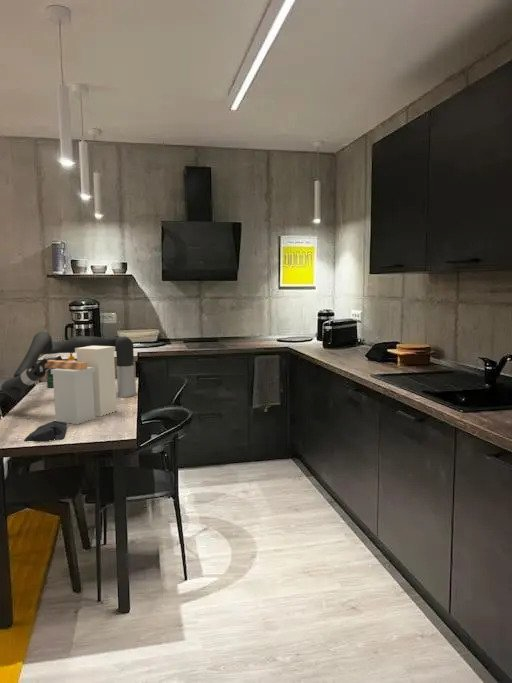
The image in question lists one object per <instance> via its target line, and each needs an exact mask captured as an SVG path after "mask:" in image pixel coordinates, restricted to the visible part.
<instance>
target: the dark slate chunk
mask: <svg viewBox="0 0 512 683" xmlns="http://www.w3.org/2000/svg"><path fill="white" fill-rule="evenodd" d="M67 426H68V423H66V422H58V421H56V420H53V421H50V422H47V423H46V424H45V423H44V424H42V425H40V426H38V427H36V429H35V430H34V431H32V432H31V433H29V434H28V435H27V436H26V438H24V440H23V442H25V441H26V442H27V441H44V442H50V441H49V440H53V441H57V439H61V440H64V438H65V435H66V432H67ZM54 439H55V440H54Z"/></svg>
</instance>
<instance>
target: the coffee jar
mask: <svg viewBox="0 0 512 683" xmlns="http://www.w3.org/2000/svg"><path fill="white" fill-rule="evenodd" d="M57 357H58V356H55V357H53V356H52V357H47V358H46V359H47V361H48V360H54V359H55V358H57ZM61 361H63V359H62V360H61ZM53 369H57V368H53ZM51 370H52V369H51V368H50V369H49V370H47V380H46V387H47V388H50V389H51V388H52V389H54V385H53V374H51Z"/></svg>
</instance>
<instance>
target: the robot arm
mask: <svg viewBox="0 0 512 683" xmlns="http://www.w3.org/2000/svg"><path fill="white" fill-rule="evenodd" d="M87 346H115V351H114V352H116V354H115V355H116V356H115V357H116V361H115V362H116V377H117V378H116V379H117V380H116V382H117V397H119V398H129V397H134V396H137V387H136V386H137V380H136V378H135V373H134V372H135V371H134V370H135V367H134V363H135V362H134V361H135V359H134V356H135V355H134V353H135V352H134V342H133V340H131V339H130V338H129V337H128V336H116V337H101V336H91V335H89V336H87V335H78V336H74V337H71V338H69V339H66V340H62V341H53V340H52V336H51V334H50V333H49V332H46V331H39V332H37V333H36V334H34V336H33V338H32V341H31V343H30V346H29V348H28V351H26V352H27V353H26V354H25V356H24V358H23V359H22V361H21V363H20V364H19V366H18V367H17V369H16V371H15V372H14V373H13V377H11V378H9V379H6V380H5V381H4V382H3V383H2V384H1V387H0V388H1V389H0V390H1V391H2V393H3V394H6V395H7V396H8V397H10V398H12V399H14V400H20V399H21V398H22V397H23V396H24V395H25V392H26V389H28V388H29V387H31V386H33V385H34V384H36V383H37V382H39V381H40V380H41V379H43V378H44V377H45V376H46V373H47V372H48V370H49V369H50V368H45V364H46V363H47V362H48V361H47V358H45V357H44V358H43V359H42V360H40V361H38V360H39V357H40V356H41V355H54V354H70V353H72V354H73V353H74V354H77V353H76V352H75V348H80V347H87ZM56 357H57V358H55V359H54V360H62V361H63V357H62V356H61V355H58V356H56ZM51 369H53V368H51Z"/></svg>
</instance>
